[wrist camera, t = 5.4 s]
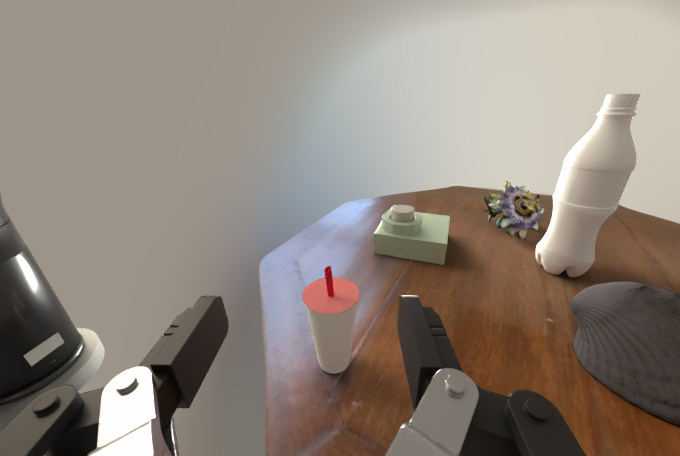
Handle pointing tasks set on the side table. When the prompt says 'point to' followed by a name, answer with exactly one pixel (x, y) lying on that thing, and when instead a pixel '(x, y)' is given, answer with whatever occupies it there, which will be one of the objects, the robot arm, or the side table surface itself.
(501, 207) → the passion flower
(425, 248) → the green button box
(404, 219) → the button
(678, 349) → the seashell
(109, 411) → the robot arm
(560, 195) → the water bottle
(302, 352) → the side table surface
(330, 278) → the cup
